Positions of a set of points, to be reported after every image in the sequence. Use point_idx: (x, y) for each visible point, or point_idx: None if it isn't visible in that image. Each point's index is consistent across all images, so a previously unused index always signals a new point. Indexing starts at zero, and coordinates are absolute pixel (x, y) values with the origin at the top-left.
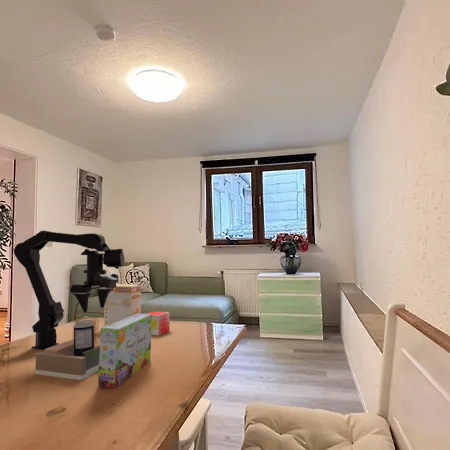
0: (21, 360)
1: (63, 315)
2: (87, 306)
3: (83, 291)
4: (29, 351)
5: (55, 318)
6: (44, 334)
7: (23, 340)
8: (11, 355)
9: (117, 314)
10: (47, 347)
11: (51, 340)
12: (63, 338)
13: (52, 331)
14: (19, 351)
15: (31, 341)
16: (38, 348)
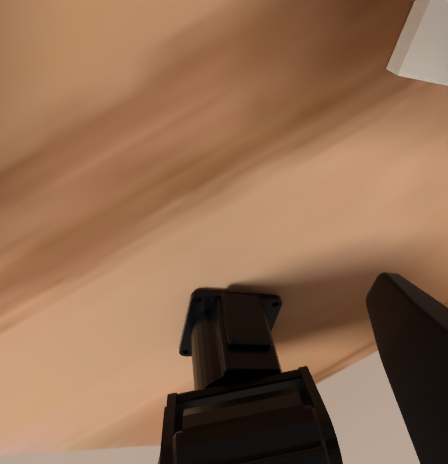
0: (421, 287)
1: (179, 443)
2: (444, 320)
3: None
4: (297, 333)
5: (317, 420)
6: (280, 367)
7: (145, 433)
8: (347, 351)
9: None
10: (267, 300)
11: (262, 317)
12: (66, 339)
13: (254, 361)
14: (296, 360)
15: (153, 407)
16: (271, 325)
